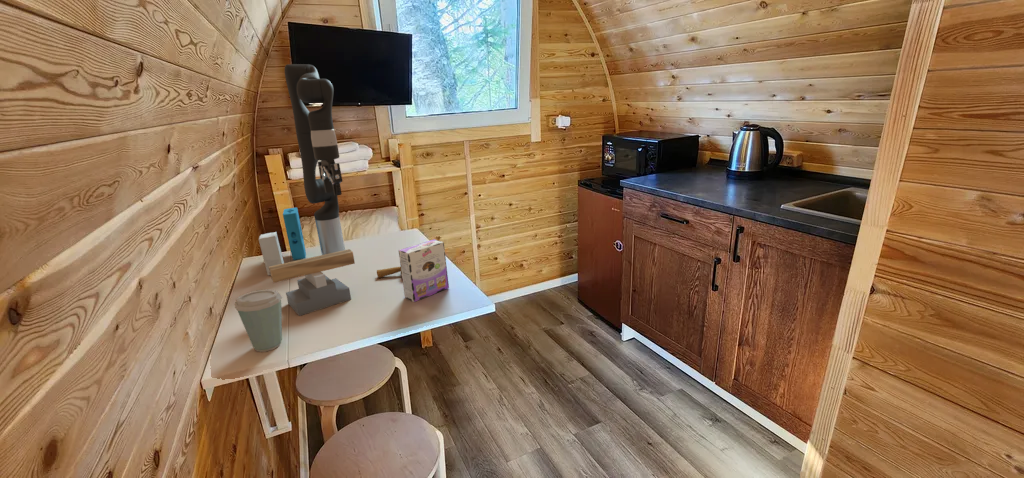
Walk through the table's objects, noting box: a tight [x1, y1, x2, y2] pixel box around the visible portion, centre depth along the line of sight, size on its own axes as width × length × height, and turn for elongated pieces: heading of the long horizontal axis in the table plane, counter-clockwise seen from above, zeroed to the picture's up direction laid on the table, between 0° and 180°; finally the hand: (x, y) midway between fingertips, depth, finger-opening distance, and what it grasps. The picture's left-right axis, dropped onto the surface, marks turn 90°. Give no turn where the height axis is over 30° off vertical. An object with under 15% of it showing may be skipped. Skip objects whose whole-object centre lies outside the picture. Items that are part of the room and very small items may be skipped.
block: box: [282, 207, 307, 261], centre depth 185 cm, size 12×5×20 cm, turn 23°
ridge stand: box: [285, 271, 352, 317], centre depth 141 cm, size 12×16×10 cm
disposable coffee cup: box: [234, 289, 283, 353], centre depth 114 cm, size 11×11×15 cm
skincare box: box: [258, 231, 285, 276], centre depth 170 cm, size 8×6×15 cm
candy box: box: [398, 239, 450, 303], centre depth 142 cm, size 14×6×16 cm, turn 134°
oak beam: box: [269, 248, 356, 284], centre depth 139 cm, size 4×24×4 cm, turn 125°
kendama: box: [376, 266, 402, 279], centre depth 160 cm, size 8×6×18 cm
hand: (333, 193), depth 147 cm, fingers open, 8 cm apart
